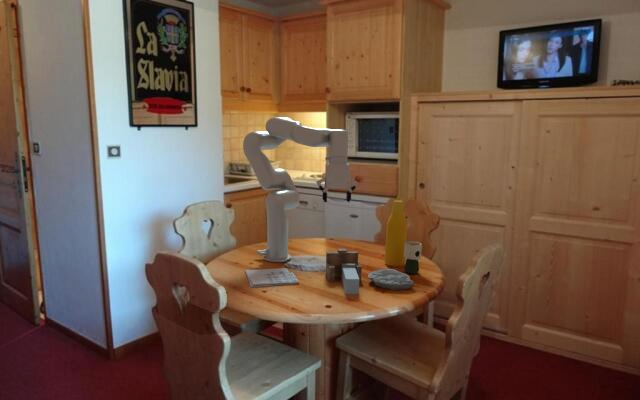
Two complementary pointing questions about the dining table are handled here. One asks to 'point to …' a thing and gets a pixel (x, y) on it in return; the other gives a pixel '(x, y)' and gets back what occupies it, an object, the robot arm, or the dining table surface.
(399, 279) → the flat grey rock
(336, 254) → the notched brown block
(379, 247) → the dining table surface
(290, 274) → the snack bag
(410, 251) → the character mug
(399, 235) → the yellow bottle
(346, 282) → the grey rectangular block
